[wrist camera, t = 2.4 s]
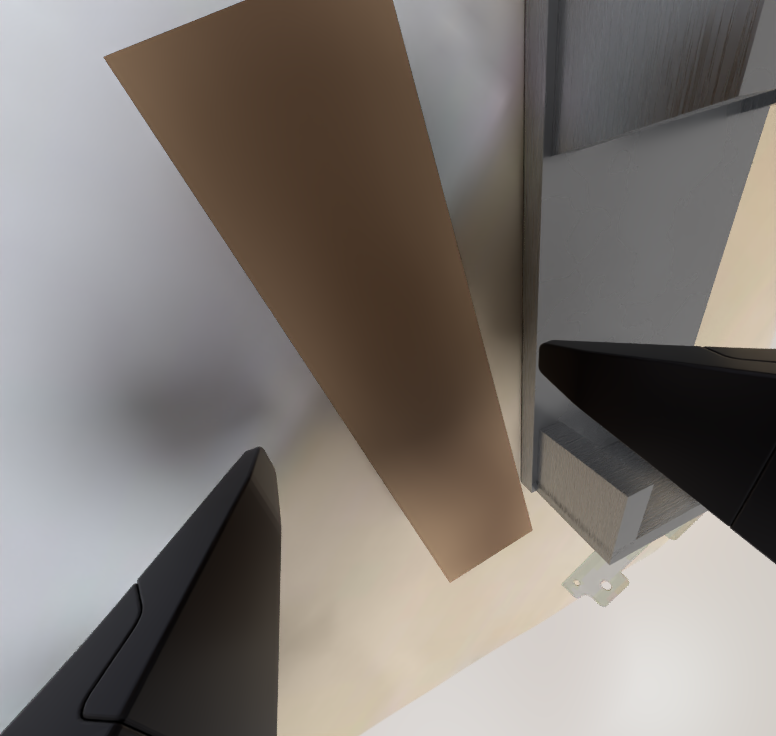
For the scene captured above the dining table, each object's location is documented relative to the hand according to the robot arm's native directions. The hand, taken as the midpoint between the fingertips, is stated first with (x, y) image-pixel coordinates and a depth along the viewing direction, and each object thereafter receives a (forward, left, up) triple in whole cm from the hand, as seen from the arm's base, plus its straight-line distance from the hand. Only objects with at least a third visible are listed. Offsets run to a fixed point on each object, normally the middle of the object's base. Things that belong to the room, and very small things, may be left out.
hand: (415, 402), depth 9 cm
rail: (0, 0, -3) cm, 3 cm away
